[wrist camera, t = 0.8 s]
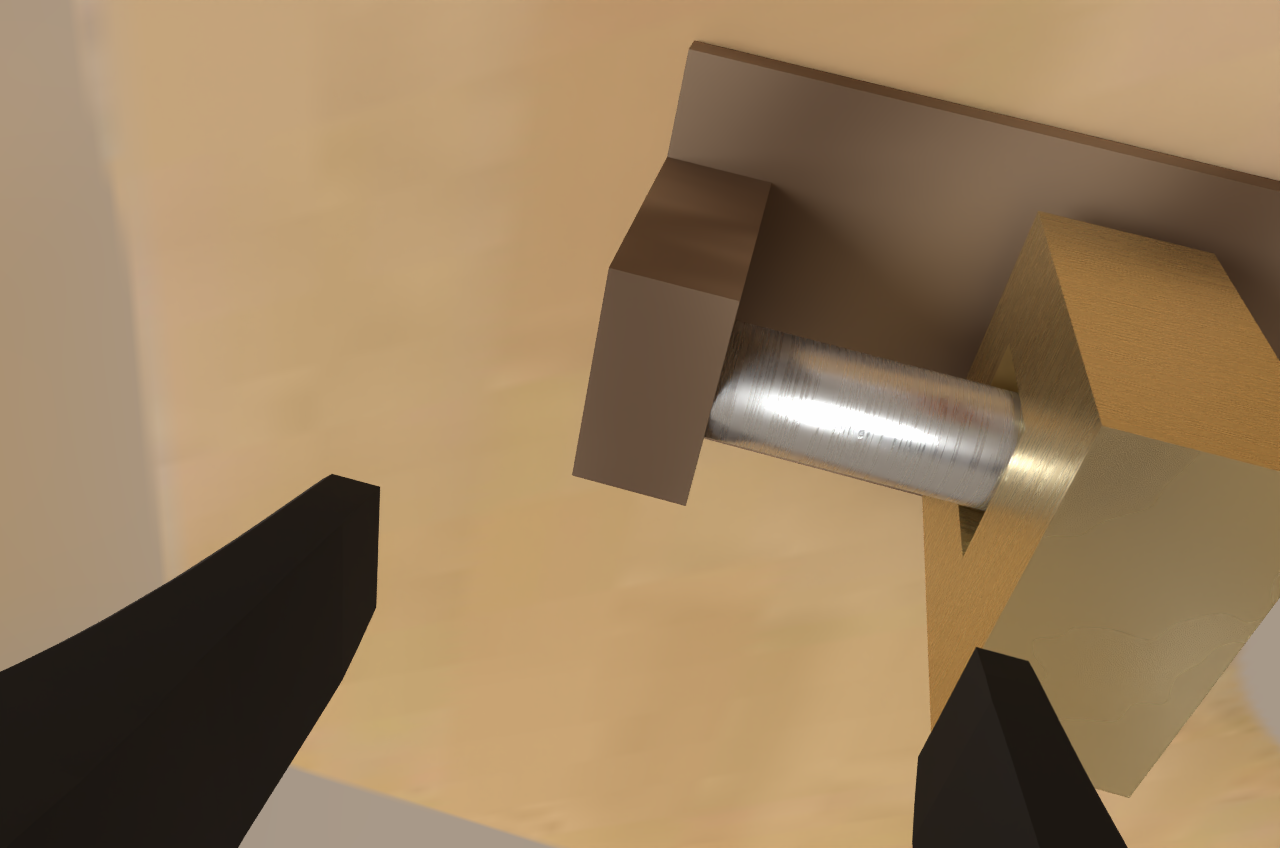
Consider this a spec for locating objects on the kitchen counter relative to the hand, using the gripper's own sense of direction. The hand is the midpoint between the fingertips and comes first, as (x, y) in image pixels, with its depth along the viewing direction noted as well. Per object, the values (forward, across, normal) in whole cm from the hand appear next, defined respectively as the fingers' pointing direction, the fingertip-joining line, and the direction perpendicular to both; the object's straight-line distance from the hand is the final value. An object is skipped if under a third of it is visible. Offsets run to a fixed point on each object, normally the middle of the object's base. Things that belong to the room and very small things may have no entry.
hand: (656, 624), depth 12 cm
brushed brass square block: (+9, -6, 0) cm, 11 cm away
